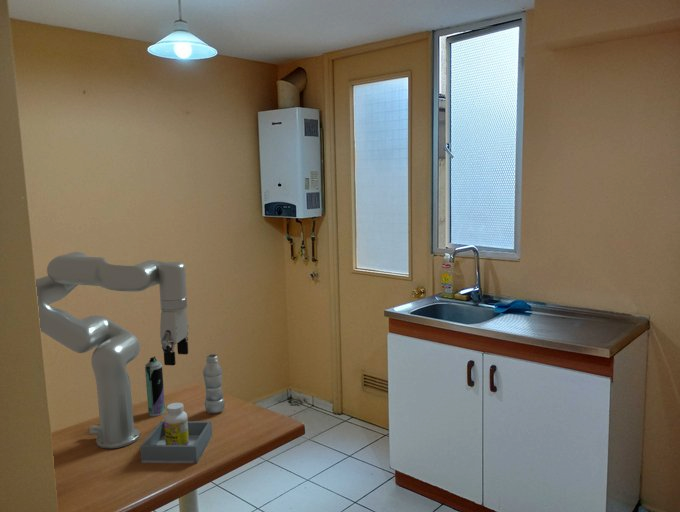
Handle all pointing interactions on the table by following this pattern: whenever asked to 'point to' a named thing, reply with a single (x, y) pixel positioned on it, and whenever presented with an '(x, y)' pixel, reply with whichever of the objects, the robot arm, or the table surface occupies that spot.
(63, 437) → the table surface
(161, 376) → the spray can
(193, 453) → the box
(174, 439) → the supplement bottle
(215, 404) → the plastic bottle
